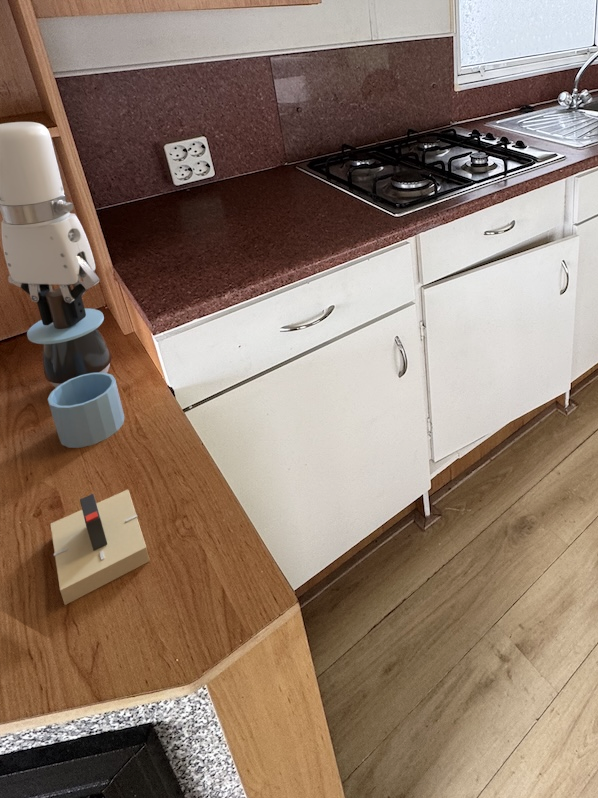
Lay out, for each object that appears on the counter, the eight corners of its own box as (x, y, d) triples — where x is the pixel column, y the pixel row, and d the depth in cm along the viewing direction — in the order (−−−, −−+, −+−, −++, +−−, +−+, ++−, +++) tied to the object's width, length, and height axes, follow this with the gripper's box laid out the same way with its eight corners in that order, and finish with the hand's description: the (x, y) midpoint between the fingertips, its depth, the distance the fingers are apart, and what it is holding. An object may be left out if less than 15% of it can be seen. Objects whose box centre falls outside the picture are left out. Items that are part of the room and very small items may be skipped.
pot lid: (13, 339, 87) (1, 300, 85) (78, 309, 95) (69, 273, 93) (56, 353, 84) (44, 313, 82) (118, 321, 92) (110, 284, 90)
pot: (47, 441, 95) (34, 398, 92) (100, 407, 103) (90, 367, 100) (85, 456, 92) (73, 413, 89) (137, 420, 100) (127, 380, 97)
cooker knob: (87, 525, 77) (79, 497, 75) (100, 519, 78) (92, 491, 76) (93, 551, 73) (85, 523, 72) (107, 544, 74) (99, 516, 72)
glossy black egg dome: (68, 407, 103) (47, 333, 97) (38, 388, 107) (17, 317, 102) (127, 377, 111) (111, 307, 106) (97, 360, 116) (80, 293, 111)
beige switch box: (54, 540, 78) (49, 523, 77) (133, 504, 84) (128, 487, 82) (64, 608, 69) (58, 590, 68) (151, 563, 75) (147, 545, 74)
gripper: (108, 202, 86) (132, 310, 92) (1, 199, 87) (32, 307, 93) (72, 220, 79) (100, 336, 85) (-45, 217, 80) (-8, 332, 86)
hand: (65, 320), depth 89 cm, fingers closed on pot lid, 3 cm apart
